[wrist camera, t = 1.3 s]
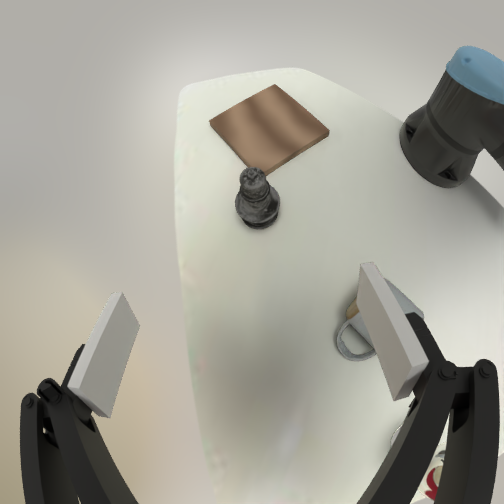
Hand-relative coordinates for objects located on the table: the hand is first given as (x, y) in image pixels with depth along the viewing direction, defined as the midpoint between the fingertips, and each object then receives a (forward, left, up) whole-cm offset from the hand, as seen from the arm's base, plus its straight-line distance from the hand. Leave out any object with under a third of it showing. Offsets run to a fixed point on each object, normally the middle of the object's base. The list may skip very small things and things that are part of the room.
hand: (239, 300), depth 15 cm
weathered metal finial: (-8, -11, -23) cm, 27 cm away
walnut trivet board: (-18, -22, -23) cm, 36 cm away
